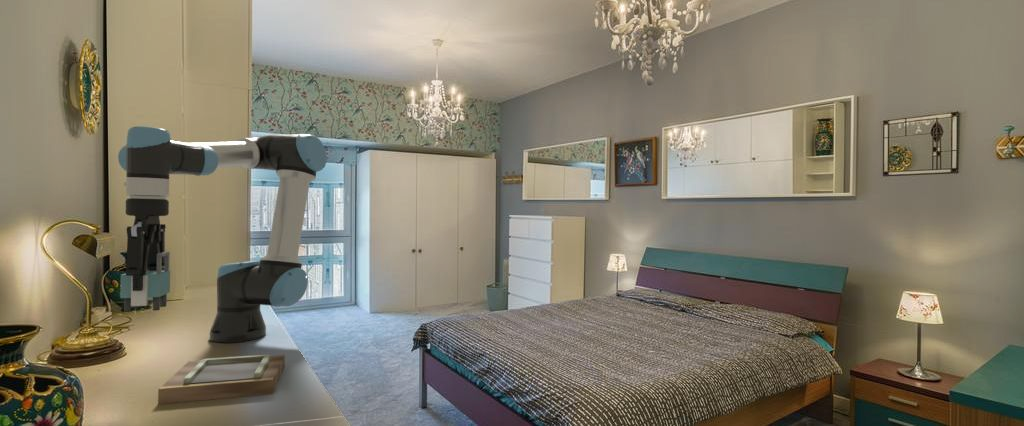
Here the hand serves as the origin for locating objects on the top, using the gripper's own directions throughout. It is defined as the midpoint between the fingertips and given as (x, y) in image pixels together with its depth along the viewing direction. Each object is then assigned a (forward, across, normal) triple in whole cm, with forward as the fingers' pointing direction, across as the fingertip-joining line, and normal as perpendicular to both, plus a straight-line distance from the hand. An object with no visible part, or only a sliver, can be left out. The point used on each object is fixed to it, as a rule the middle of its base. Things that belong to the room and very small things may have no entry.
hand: (146, 302), depth 104 cm
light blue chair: (+1, 0, 0) cm, 1 cm away
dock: (+19, +2, +17) cm, 25 cm away
